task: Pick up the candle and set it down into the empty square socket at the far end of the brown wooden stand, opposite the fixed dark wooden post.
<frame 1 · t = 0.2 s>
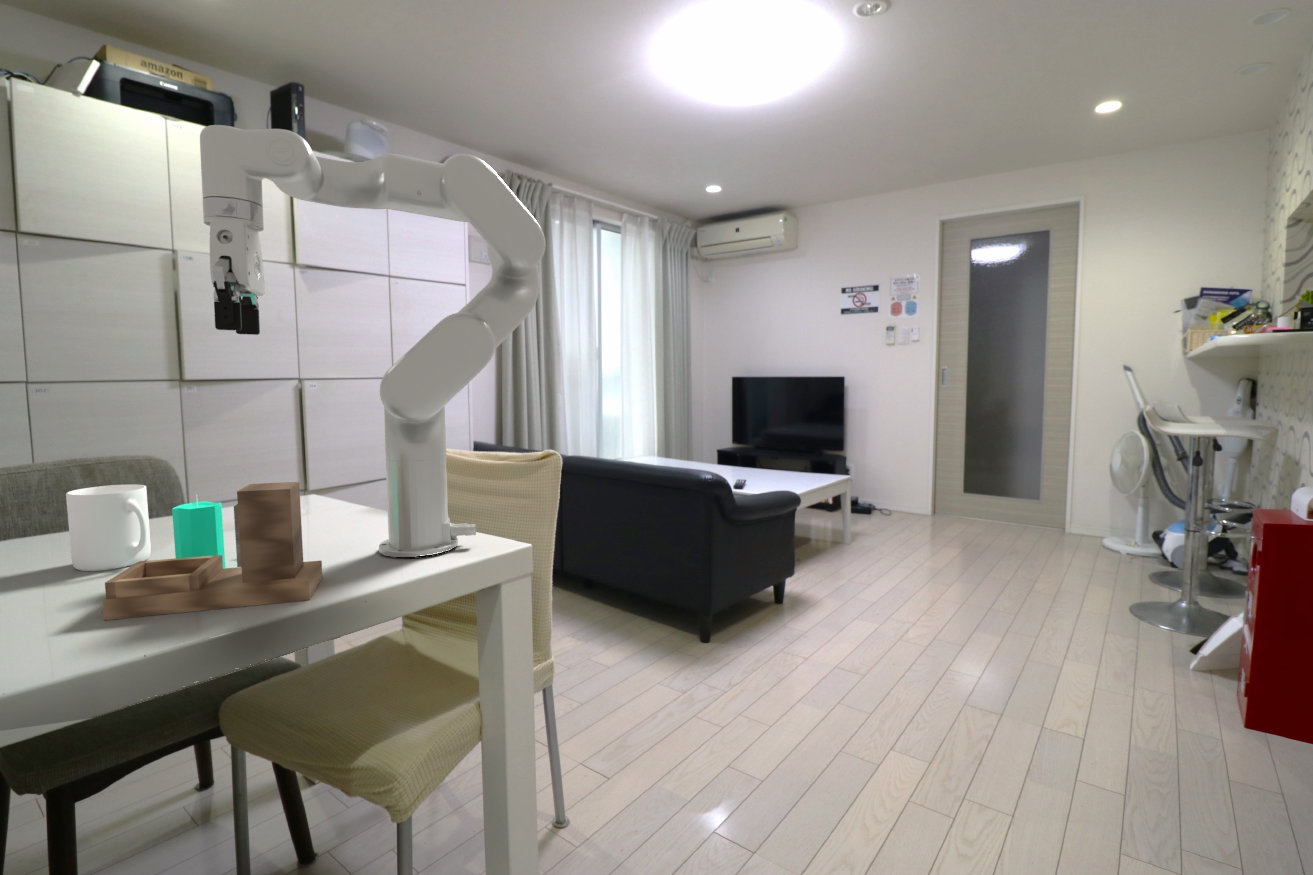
hand: (238, 332, 97), 36 cm above the table, tool pointing down, fingers open, 9 cm apart
brown wooden stand: (223, 596, 85), on the table
candle: (202, 576, 94), on the table
mug: (121, 564, 100), on the table
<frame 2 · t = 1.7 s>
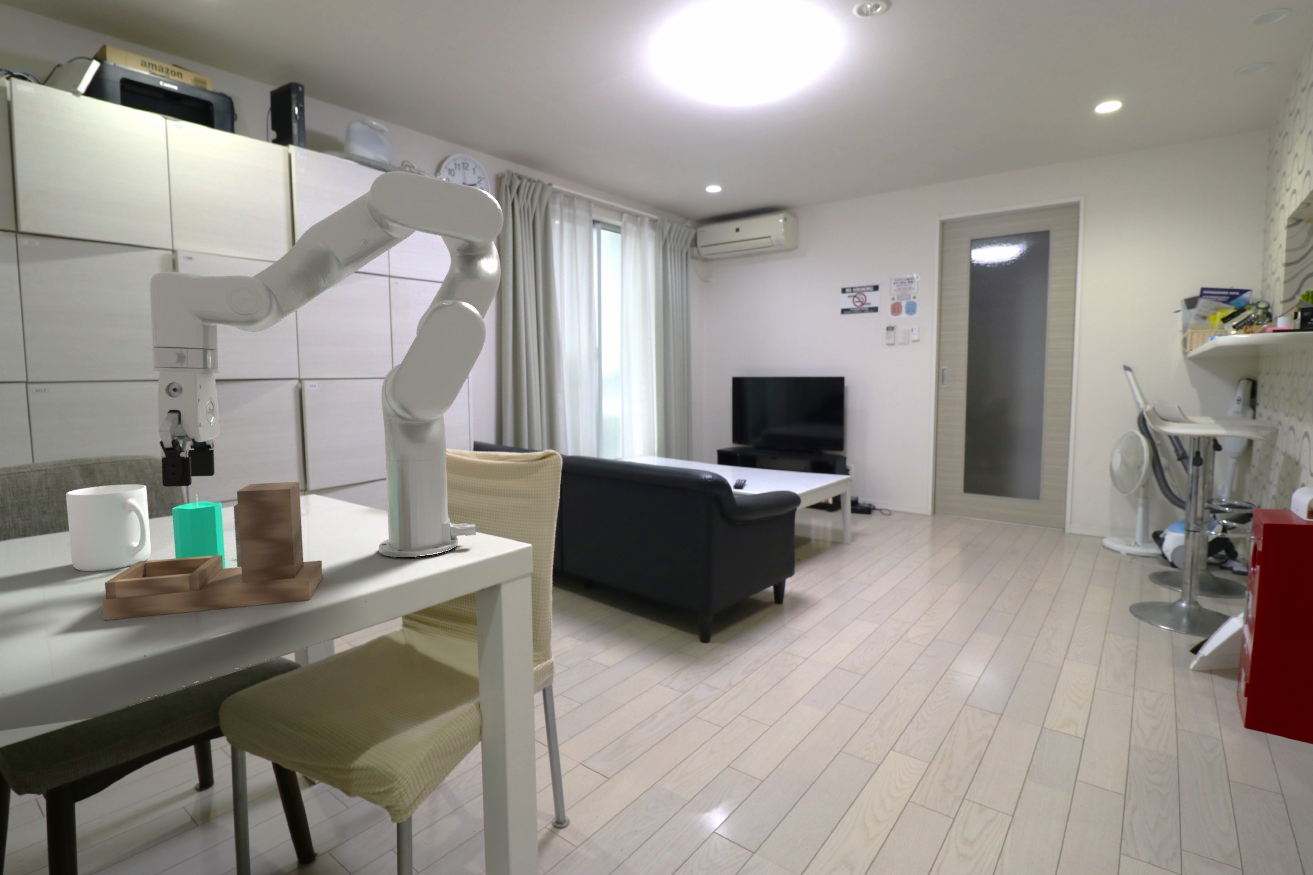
hand: (190, 480, 93), 14 cm above the table, tool pointing down, fingers open, 9 cm apart
nothing on the table moved.
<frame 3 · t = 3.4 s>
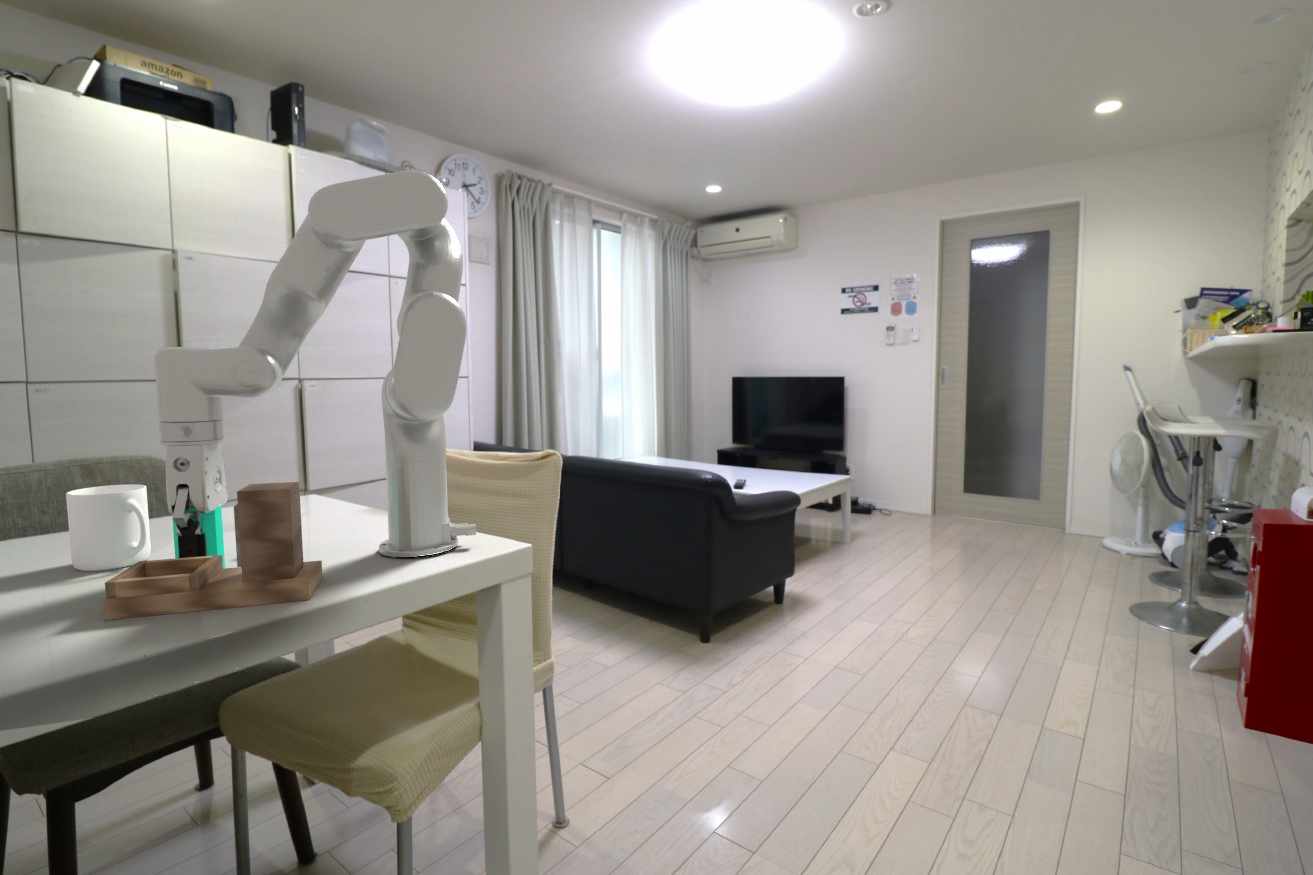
hand: (200, 555, 94), 3 cm above the table, tool pointing down, fingers closed on candle, 4 cm apart
candle: (201, 576, 94), on the table, touching gripper
everything else where it was.
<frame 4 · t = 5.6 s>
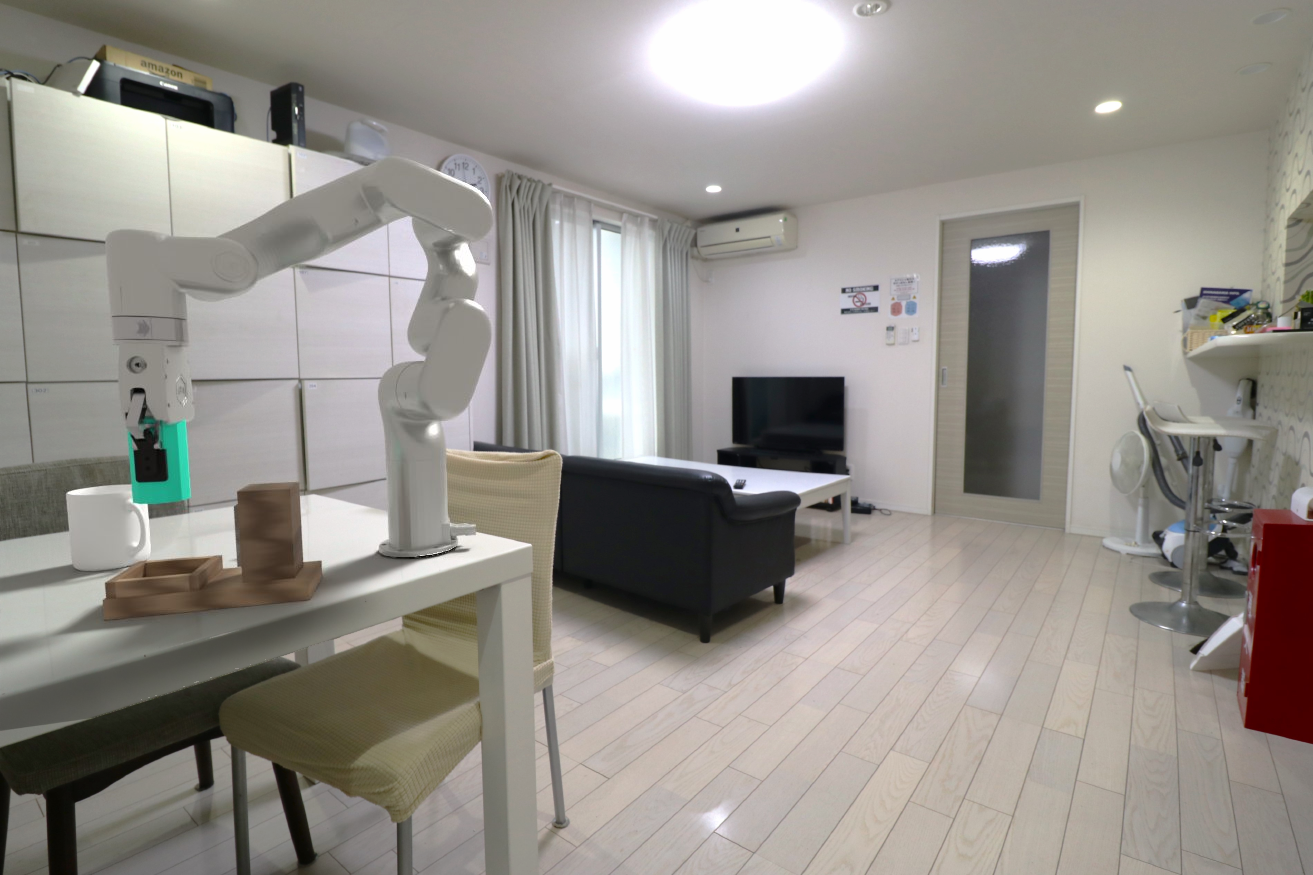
hand: (161, 476, 81), 16 cm above the table, tool pointing down, fingers closed on candle, 4 cm apart
candle: (162, 501, 82), point 13 cm above the table, touching gripper
everything else where it was.
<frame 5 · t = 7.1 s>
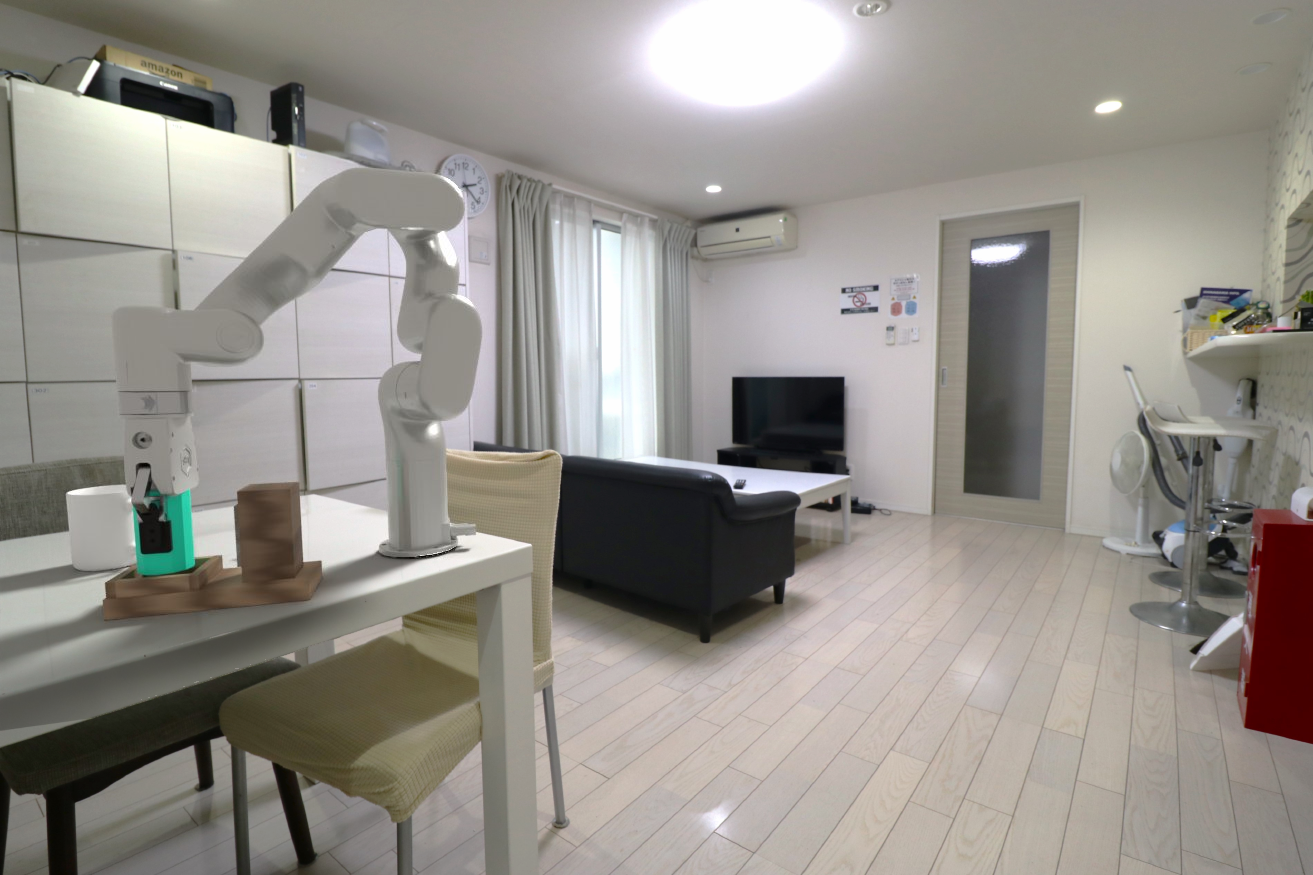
hand: (166, 545, 82), 7 cm above the table, tool pointing down, fingers closed on candle, 4 cm apart
candle: (167, 569, 83), point 4 cm above the table, touching gripper
everything else where it was.
when the fingers open (7 cm above the table, at t = 8.0 s): candle drops 1 cm, resting on brown wooden stand.
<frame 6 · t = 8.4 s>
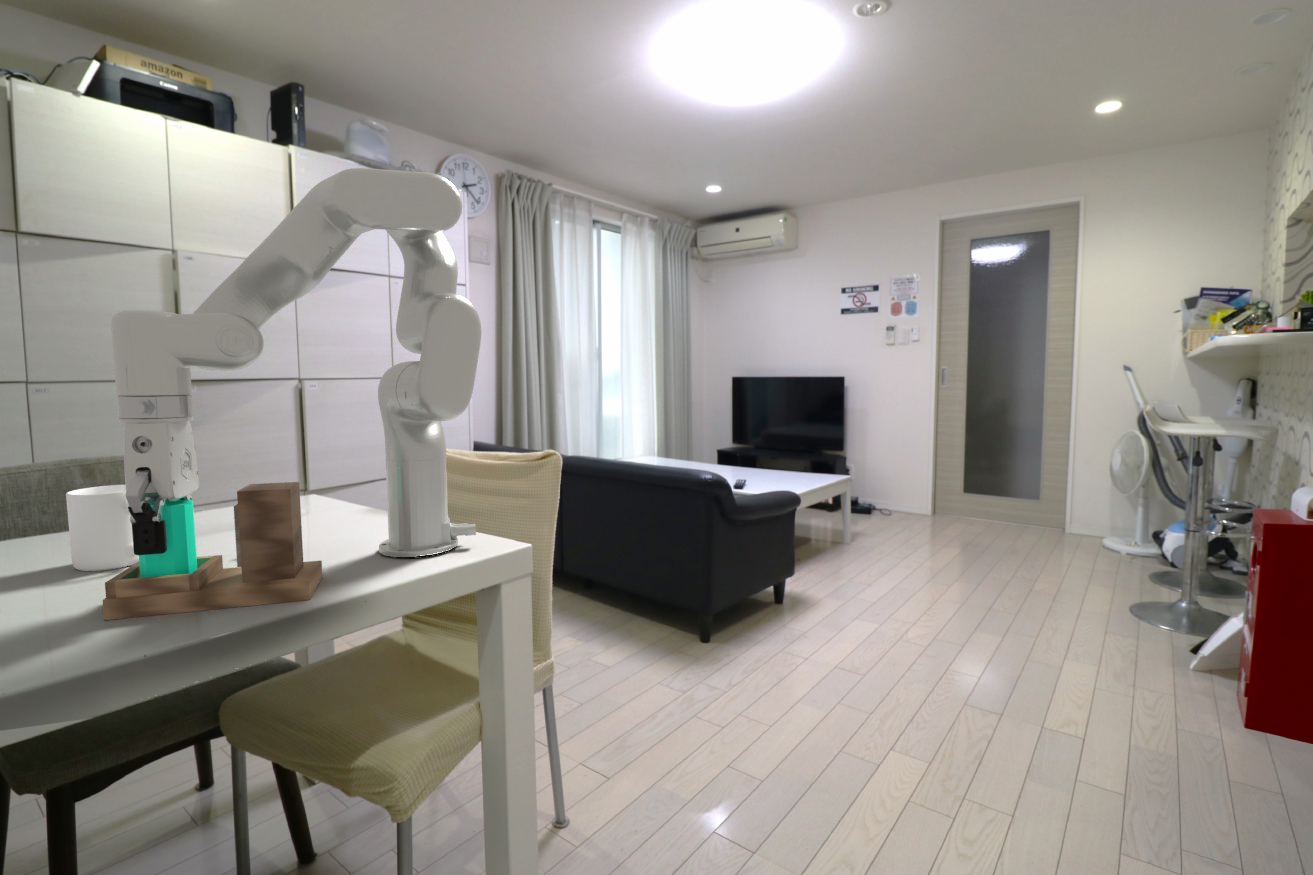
hand: (166, 544, 82), 8 cm above the table, tool pointing down, fingers open, 8 cm apart
candle: (170, 583, 83), point 2 cm above the table, touching brown wooden stand
everything else where it was.
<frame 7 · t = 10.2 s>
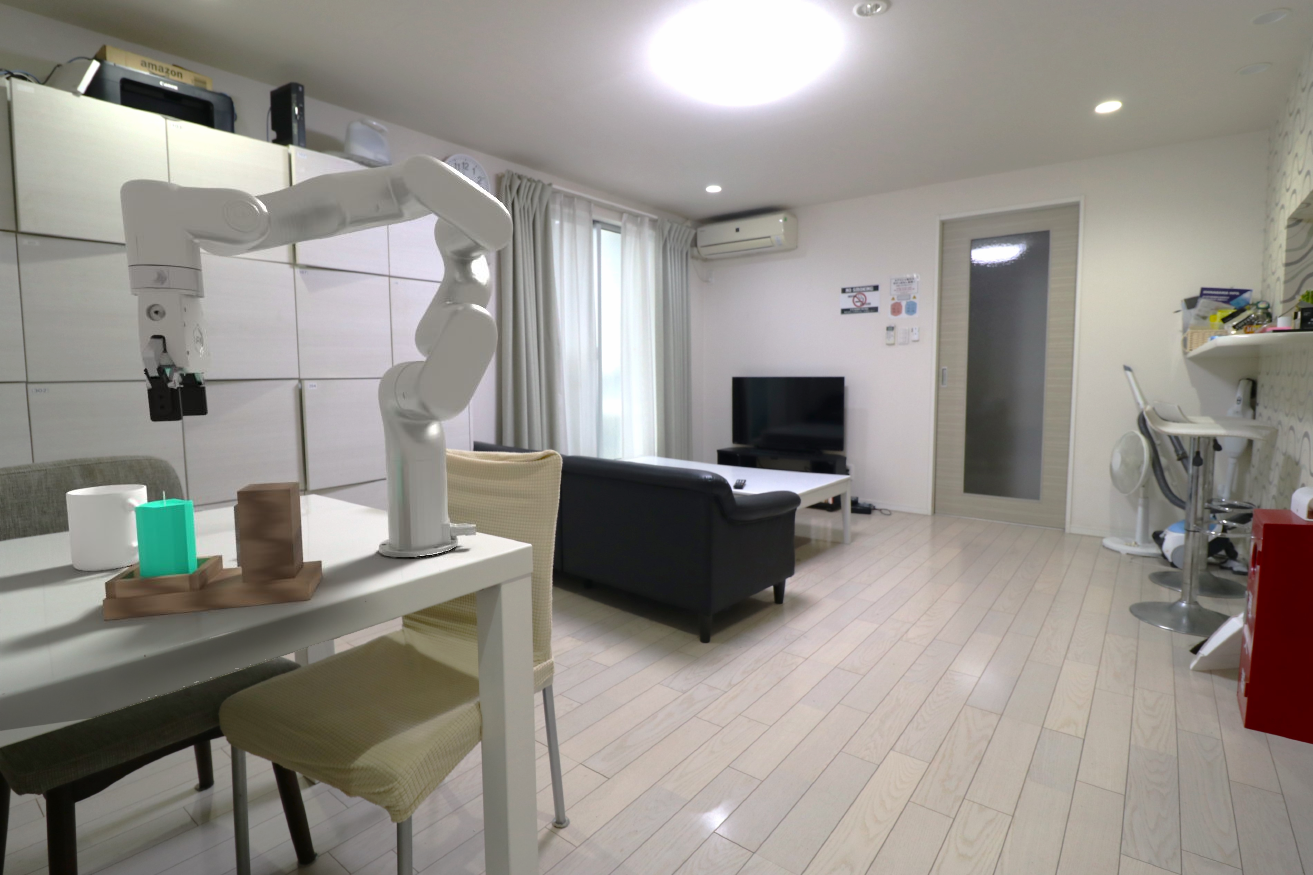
hand: (181, 418, 83), 24 cm above the table, tool pointing down, fingers open, 9 cm apart
nothing on the table moved.
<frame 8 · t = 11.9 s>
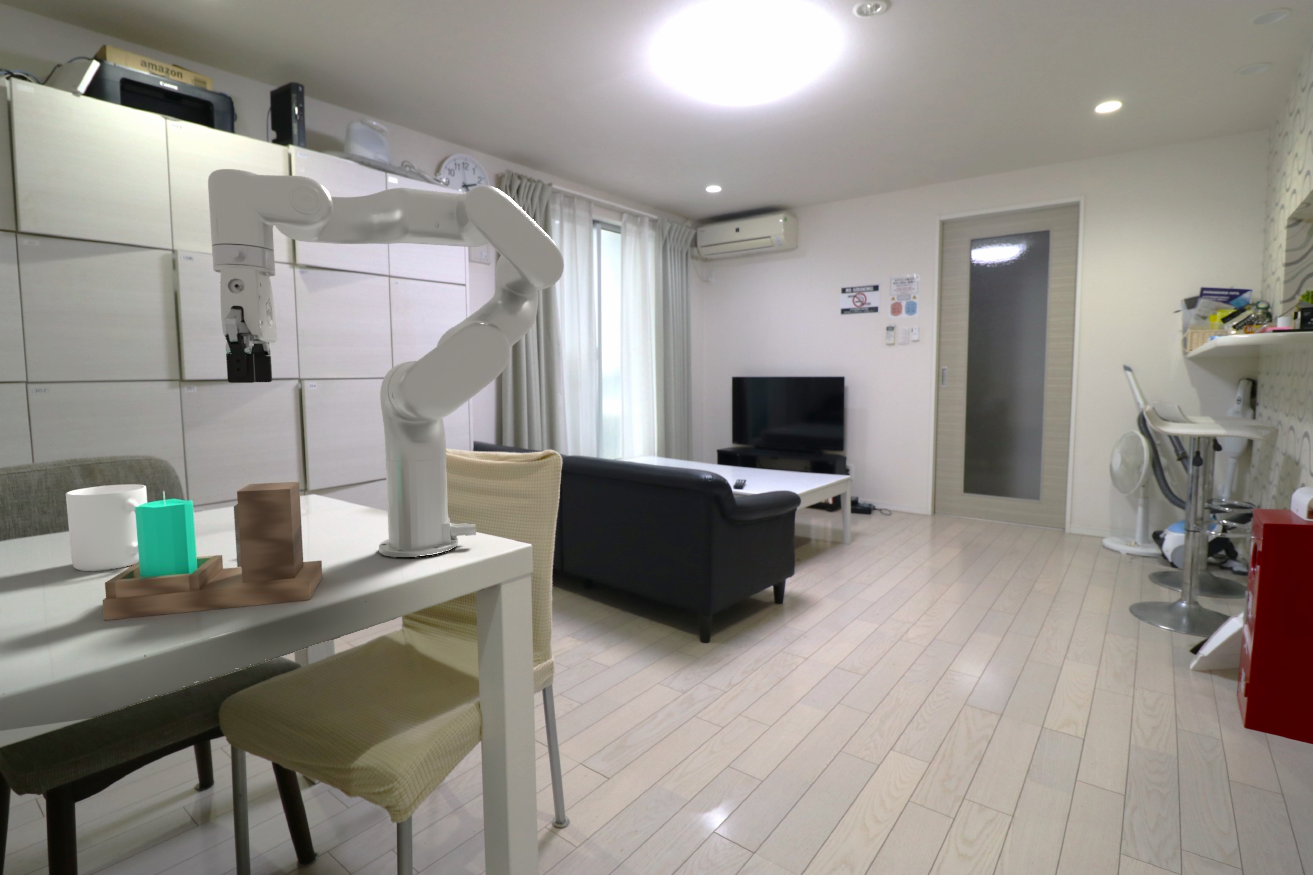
hand: (251, 382, 93), 28 cm above the table, tool pointing down, fingers open, 9 cm apart
nothing on the table moved.
at the end: candle 0.1 cm from the target spot on the brown wooden stand, point 2.3 cm above the brown wooden stand's base; candle tilted 0°; the gripper is holding nothing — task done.
